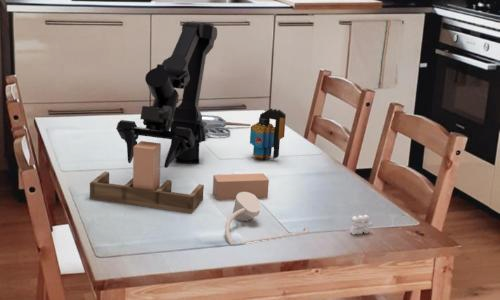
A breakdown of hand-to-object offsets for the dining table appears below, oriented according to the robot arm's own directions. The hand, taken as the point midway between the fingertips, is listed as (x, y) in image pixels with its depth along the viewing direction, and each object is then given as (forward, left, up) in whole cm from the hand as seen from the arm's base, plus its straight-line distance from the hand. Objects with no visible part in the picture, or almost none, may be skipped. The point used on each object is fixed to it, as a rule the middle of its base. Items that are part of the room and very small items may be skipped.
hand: (147, 164), depth 197 cm
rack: (0, 0, -9) cm, 9 cm away
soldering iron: (-18, -58, -10) cm, 62 cm away
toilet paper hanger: (-25, +15, -10) cm, 31 cm away
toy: (-33, -35, -9) cm, 49 cm away
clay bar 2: (-23, -5, -9) cm, 25 cm away
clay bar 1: (0, 0, -8) cm, 8 cm away
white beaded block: (-49, +18, -9) cm, 53 cm away
